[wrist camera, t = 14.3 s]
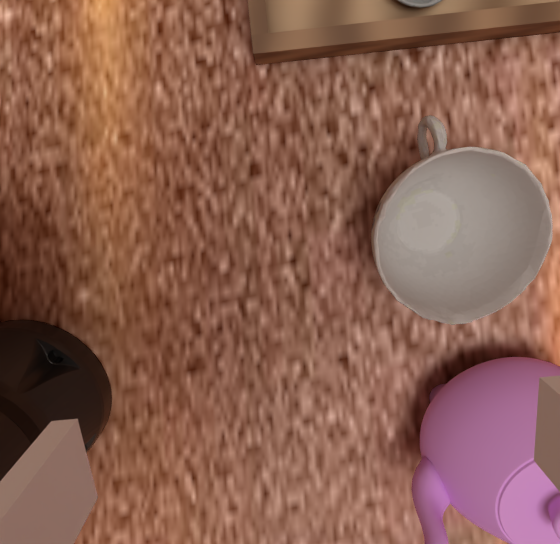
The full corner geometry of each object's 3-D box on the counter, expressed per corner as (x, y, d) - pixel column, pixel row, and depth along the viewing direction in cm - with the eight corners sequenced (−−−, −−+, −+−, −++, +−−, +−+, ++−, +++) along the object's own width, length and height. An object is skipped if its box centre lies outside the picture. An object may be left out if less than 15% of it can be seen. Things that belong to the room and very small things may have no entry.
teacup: (506, 272, 39) (563, 301, 31) (370, 305, 40) (393, 342, 32) (484, 99, 35) (543, 84, 27) (334, 140, 36) (350, 137, 28)
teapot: (399, 510, 46) (448, 655, 33) (344, 392, 42) (375, 502, 29) (604, 437, 44) (746, 561, 30) (566, 304, 40) (710, 381, 26)
